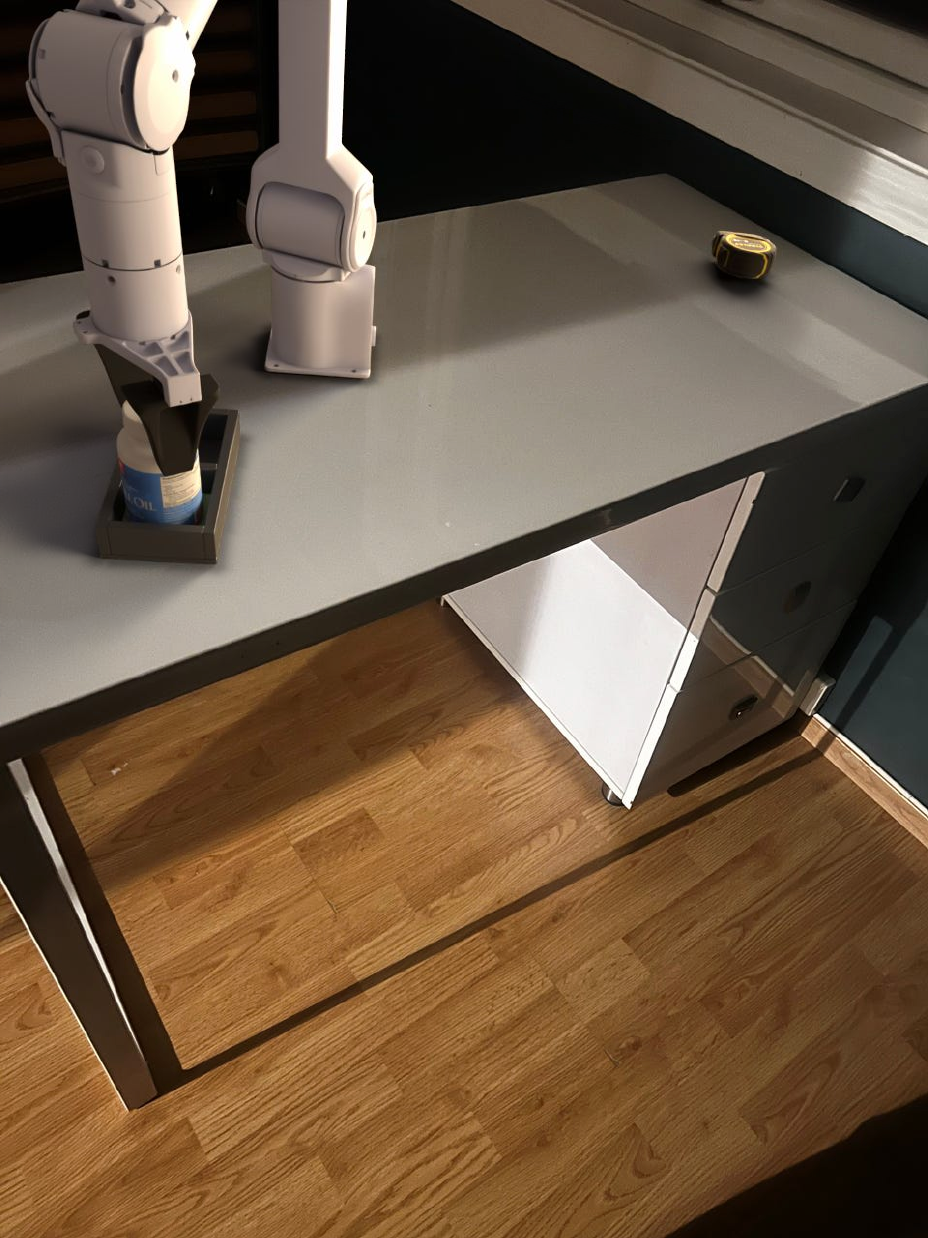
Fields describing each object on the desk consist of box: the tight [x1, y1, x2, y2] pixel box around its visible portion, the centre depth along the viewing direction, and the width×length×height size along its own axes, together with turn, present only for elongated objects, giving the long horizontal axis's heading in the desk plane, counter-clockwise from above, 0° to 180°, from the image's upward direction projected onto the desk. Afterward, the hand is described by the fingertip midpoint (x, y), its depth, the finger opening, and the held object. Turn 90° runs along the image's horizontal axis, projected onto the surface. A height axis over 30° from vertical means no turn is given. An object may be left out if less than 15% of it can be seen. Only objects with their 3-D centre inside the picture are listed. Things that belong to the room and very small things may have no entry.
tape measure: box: [710, 230, 778, 280], centre depth 113 cm, size 7×7×4 cm
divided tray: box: [94, 407, 242, 565], centre depth 74 cm, size 8×15×3 cm, turn 3°
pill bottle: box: [116, 400, 203, 526], centre depth 69 cm, size 6×5×10 cm
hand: (157, 439), depth 67 cm, fingers open, 7 cm apart
